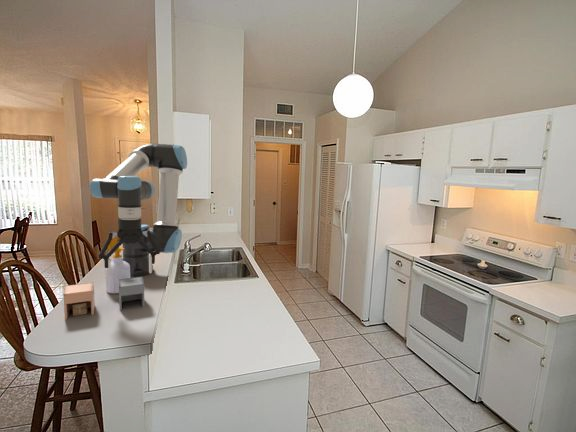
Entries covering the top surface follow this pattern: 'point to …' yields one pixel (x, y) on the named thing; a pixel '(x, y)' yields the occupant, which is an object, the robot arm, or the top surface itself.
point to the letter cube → (80, 308)
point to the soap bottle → (116, 269)
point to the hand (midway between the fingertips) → (130, 274)
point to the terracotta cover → (78, 296)
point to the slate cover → (131, 290)
